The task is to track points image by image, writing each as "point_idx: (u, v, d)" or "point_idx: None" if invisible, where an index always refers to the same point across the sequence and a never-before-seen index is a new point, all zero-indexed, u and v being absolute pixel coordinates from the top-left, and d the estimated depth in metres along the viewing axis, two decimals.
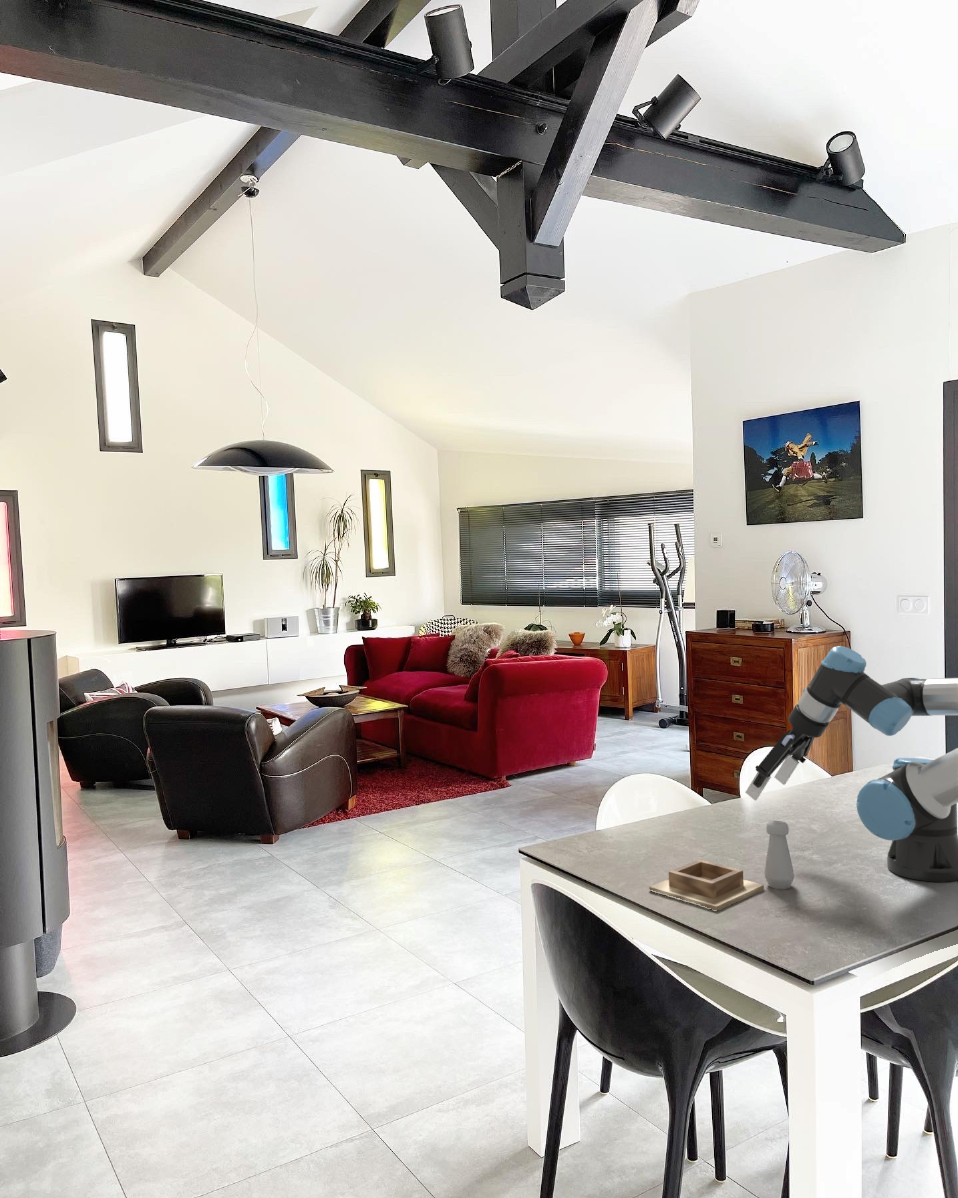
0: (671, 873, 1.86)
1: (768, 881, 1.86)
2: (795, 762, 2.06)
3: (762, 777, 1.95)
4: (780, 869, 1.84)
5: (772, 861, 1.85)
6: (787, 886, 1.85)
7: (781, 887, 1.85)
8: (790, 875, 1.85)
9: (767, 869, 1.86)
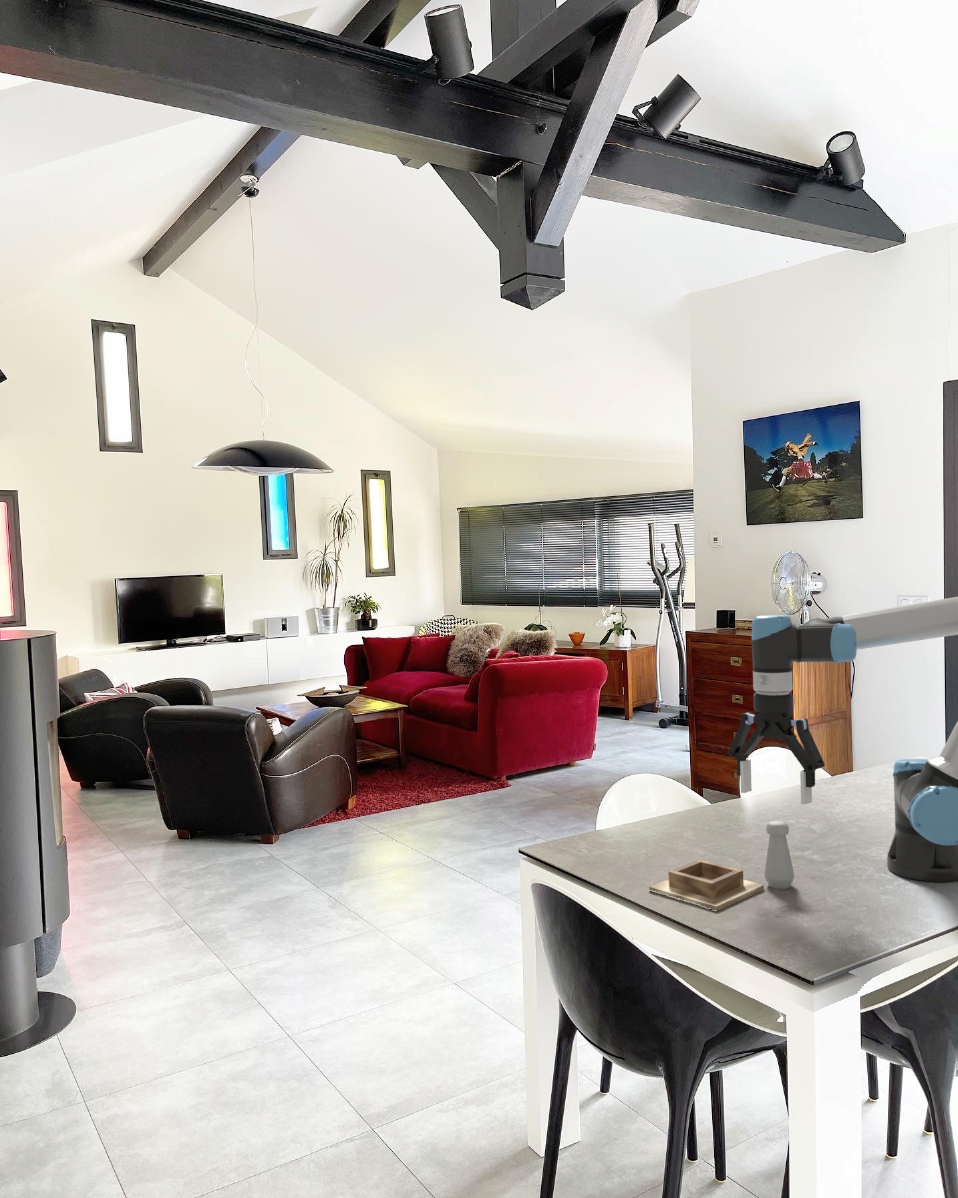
0: (671, 873, 1.86)
1: (768, 881, 1.86)
2: (749, 761, 1.92)
3: (814, 772, 1.80)
4: (780, 869, 1.84)
5: (772, 861, 1.85)
6: (787, 886, 1.85)
7: (781, 887, 1.85)
8: (790, 875, 1.85)
9: (767, 869, 1.86)
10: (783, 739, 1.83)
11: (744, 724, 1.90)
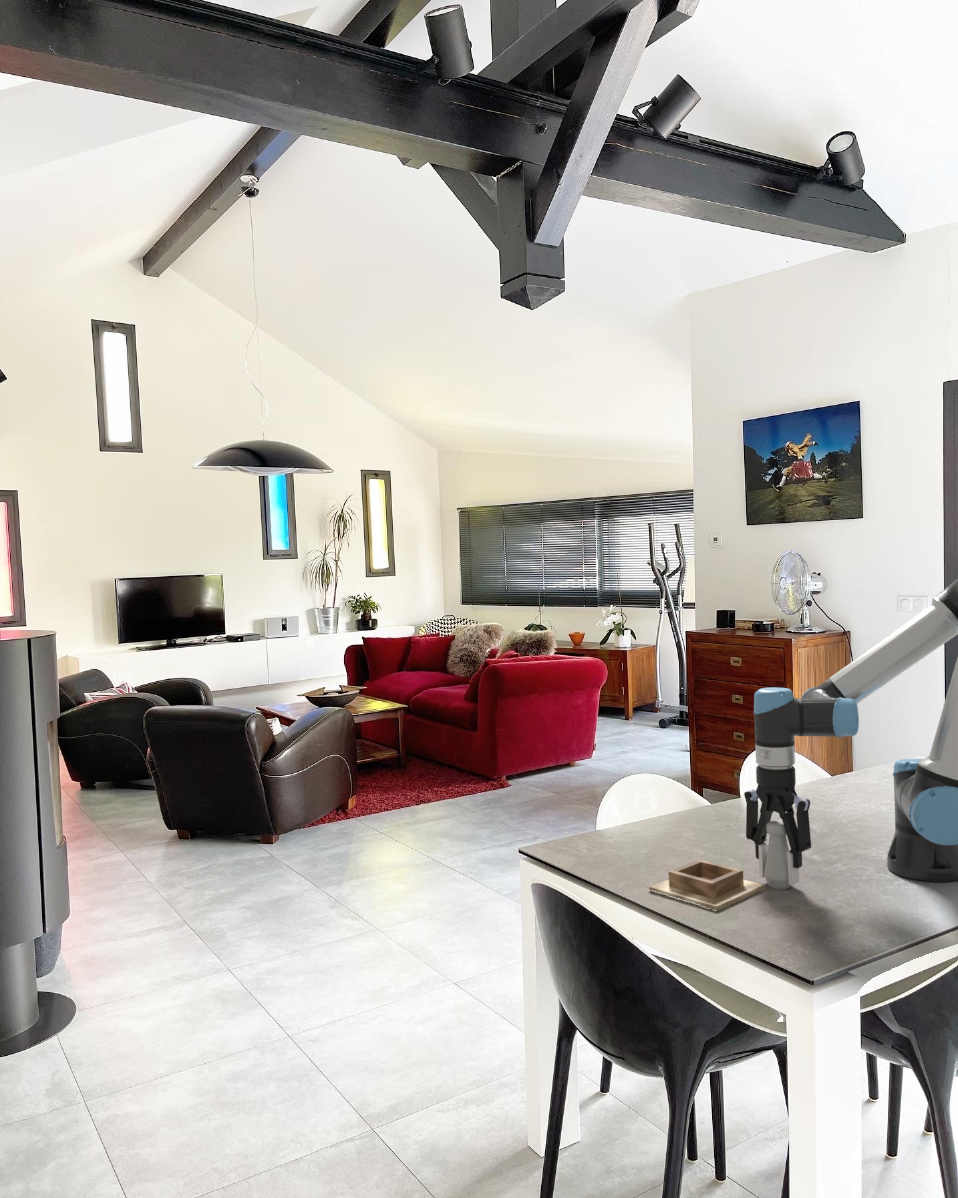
0: (671, 873, 1.86)
1: (768, 881, 1.86)
2: (767, 844, 1.90)
3: (801, 853, 1.83)
4: (780, 869, 1.84)
5: (772, 861, 1.85)
6: (787, 886, 1.85)
7: (781, 887, 1.85)
8: None
9: (767, 869, 1.86)
10: (781, 815, 1.84)
11: (750, 801, 1.90)
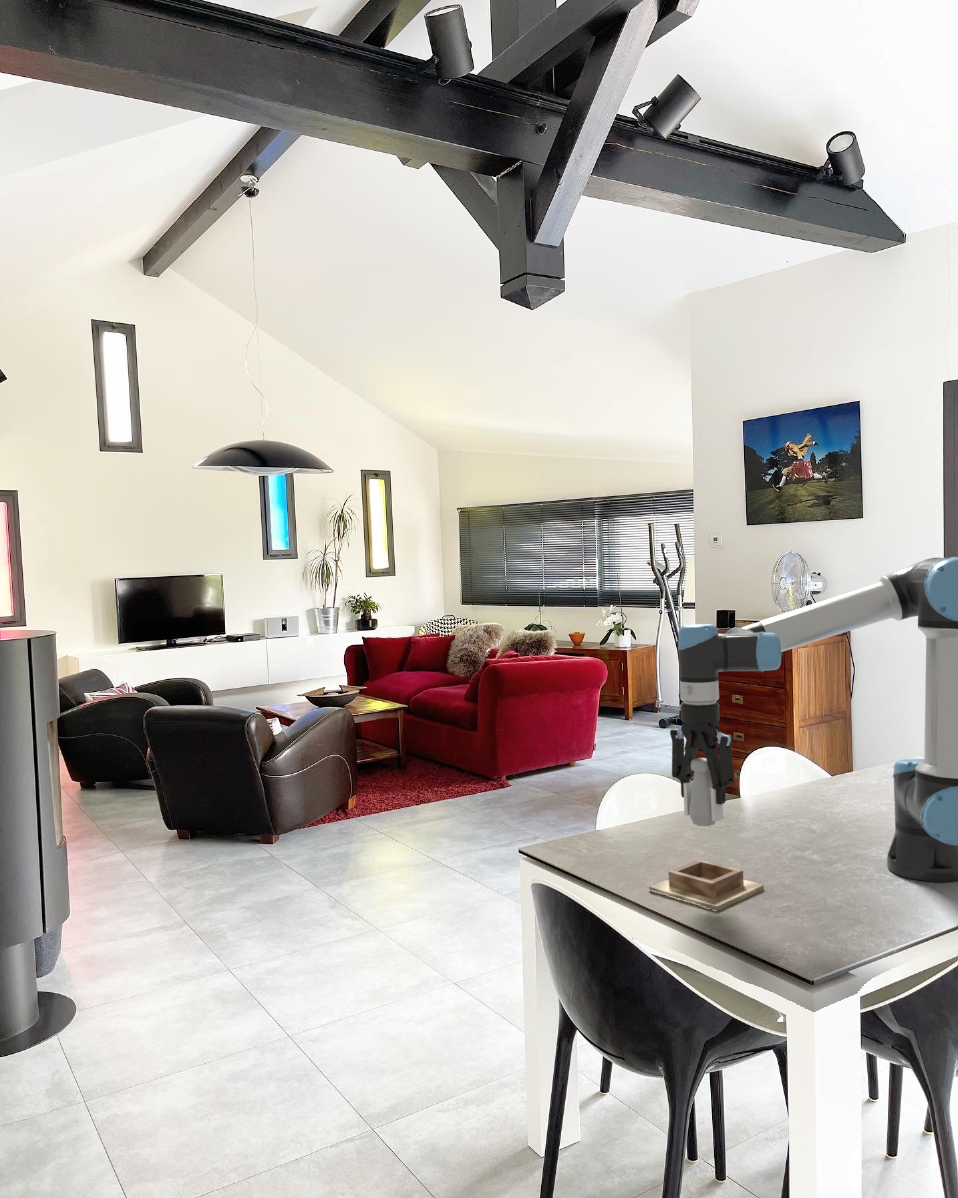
0: (671, 873, 1.86)
1: (692, 818, 1.85)
2: None
3: (724, 789, 1.82)
4: (704, 805, 1.83)
5: (696, 798, 1.84)
6: (711, 823, 1.84)
7: (705, 824, 1.84)
8: None
9: (691, 806, 1.85)
10: (704, 751, 1.83)
11: (675, 739, 1.88)
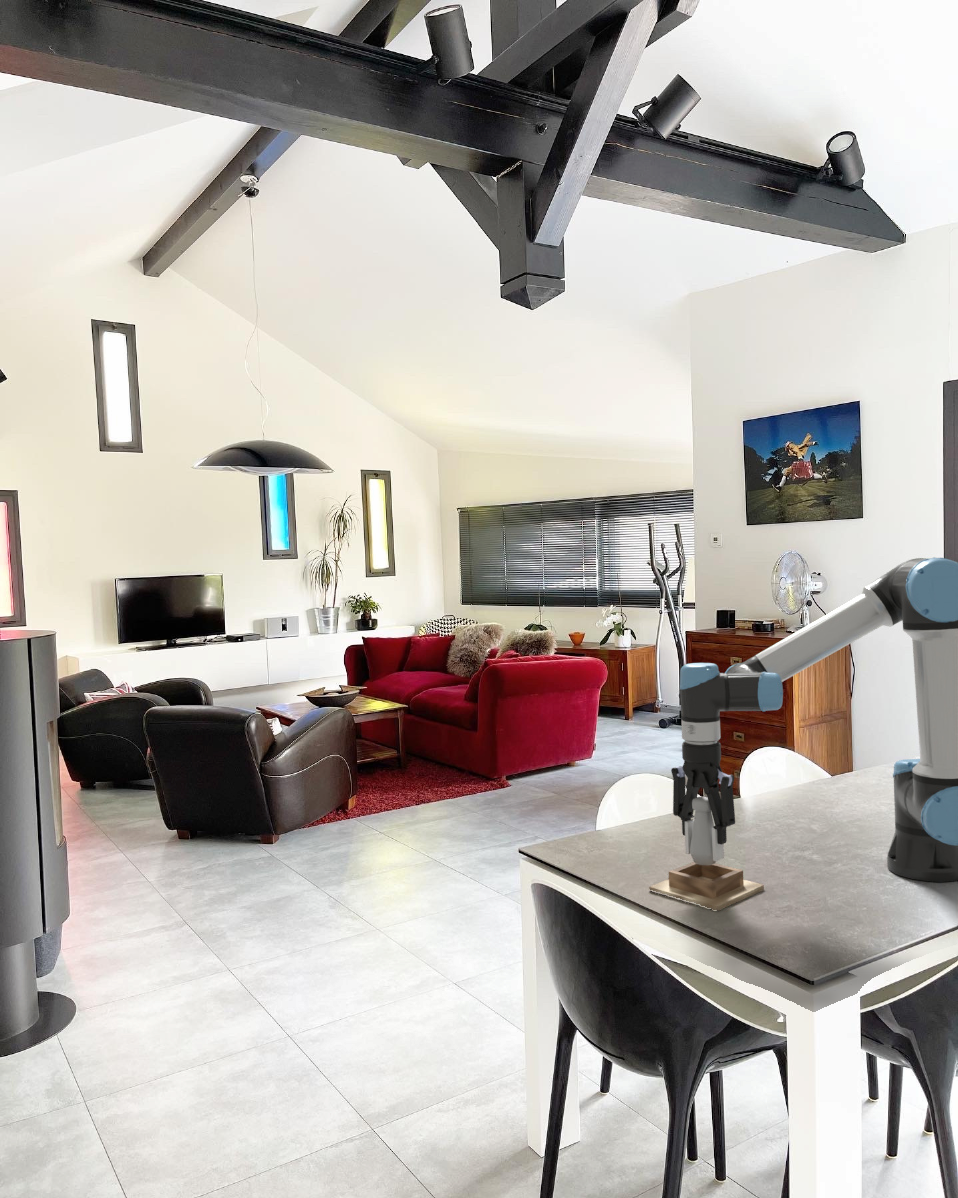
0: (671, 873, 1.86)
1: (693, 857, 1.85)
2: None
3: (725, 829, 1.82)
4: (705, 844, 1.83)
5: (697, 837, 1.84)
6: (712, 862, 1.84)
7: (706, 863, 1.84)
8: None
9: (692, 845, 1.85)
10: (705, 791, 1.83)
11: (677, 778, 1.89)
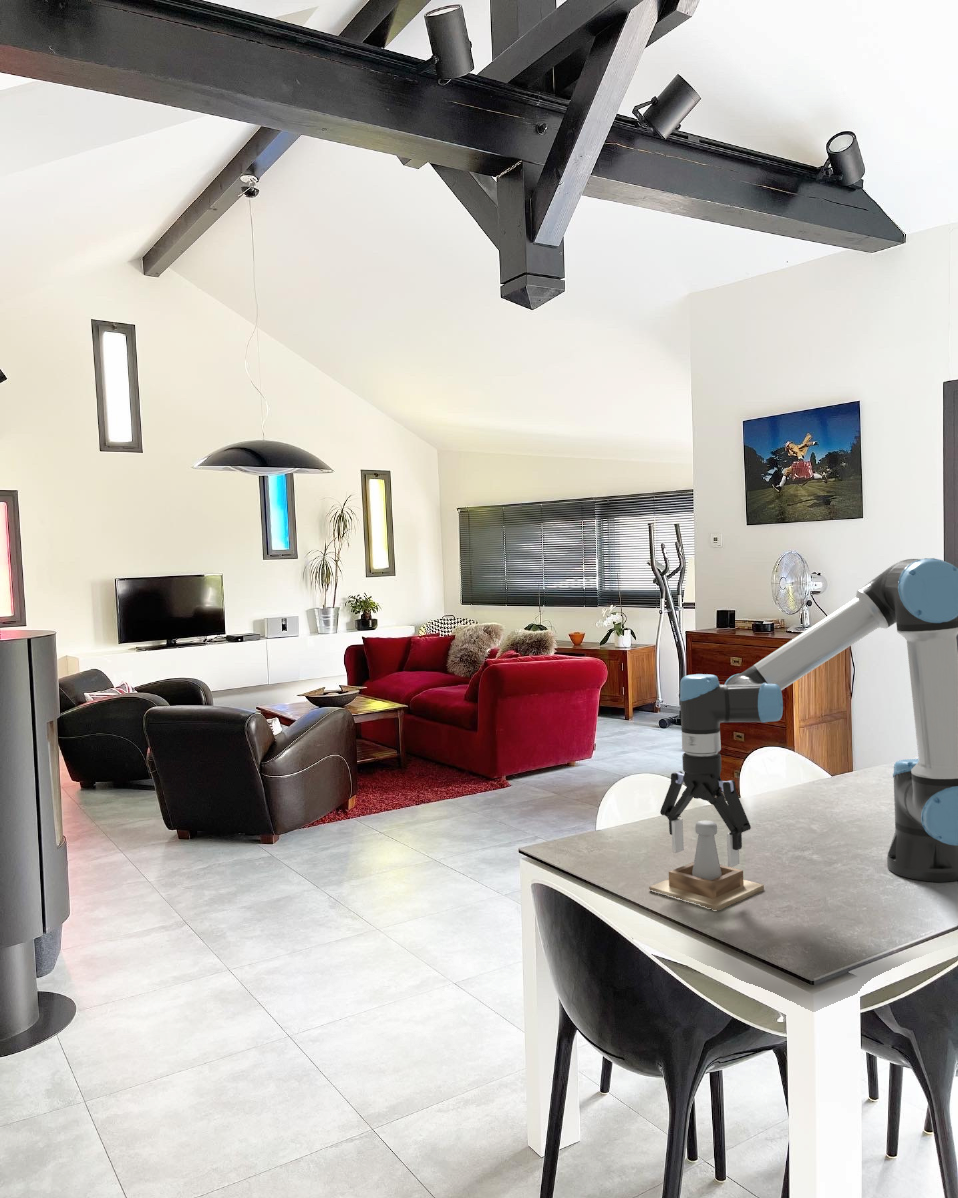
0: (671, 873, 1.86)
1: None
2: (681, 820, 1.91)
3: (740, 835, 1.80)
4: (707, 869, 1.83)
5: (699, 861, 1.84)
6: None
7: None
8: (717, 875, 1.84)
9: (695, 868, 1.85)
10: (711, 800, 1.82)
11: (674, 783, 1.89)
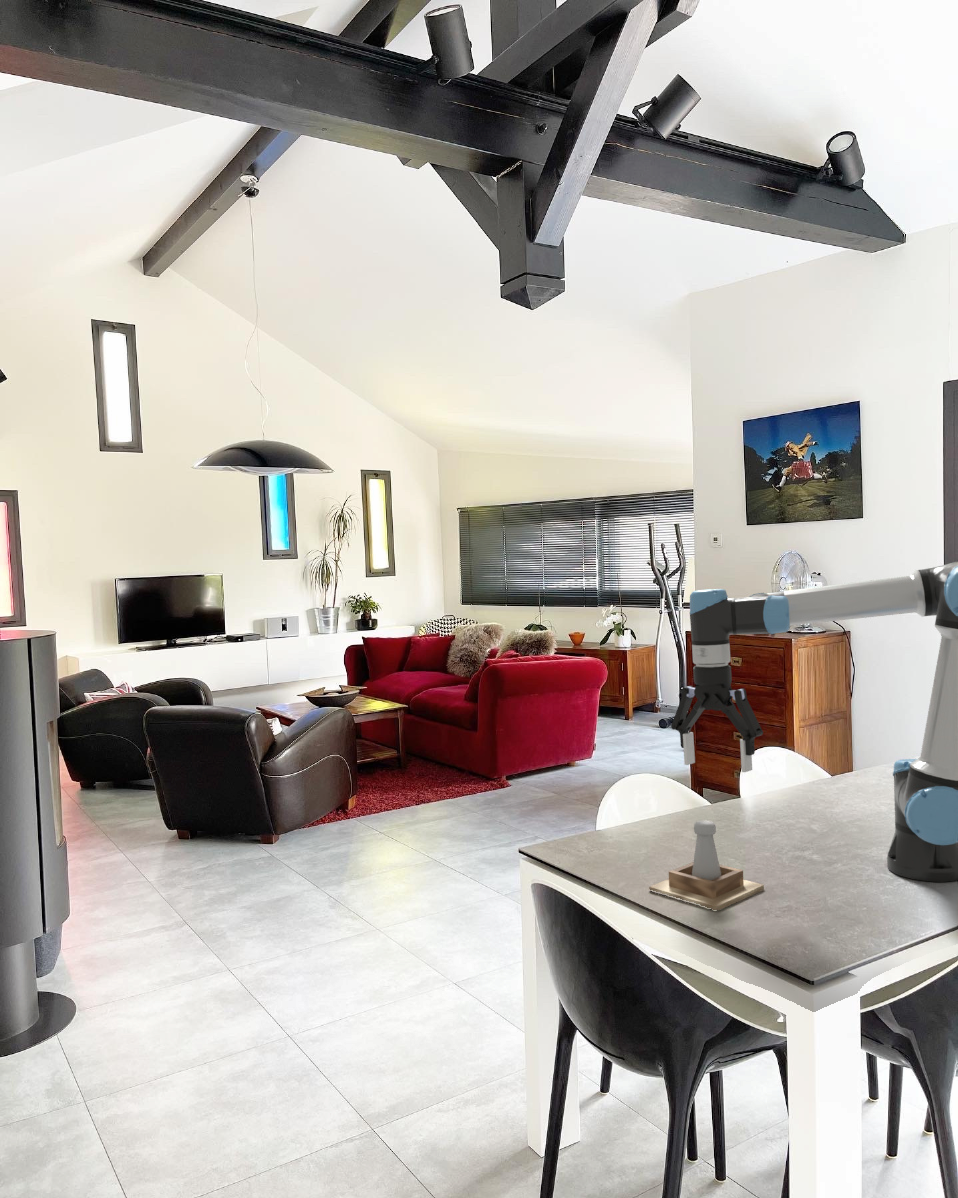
0: (671, 873, 1.86)
1: None
2: (691, 733, 1.96)
3: (753, 740, 1.85)
4: (707, 868, 1.83)
5: (699, 861, 1.84)
6: None
7: None
8: (717, 875, 1.84)
9: (694, 869, 1.85)
10: (723, 709, 1.87)
11: (685, 697, 1.94)
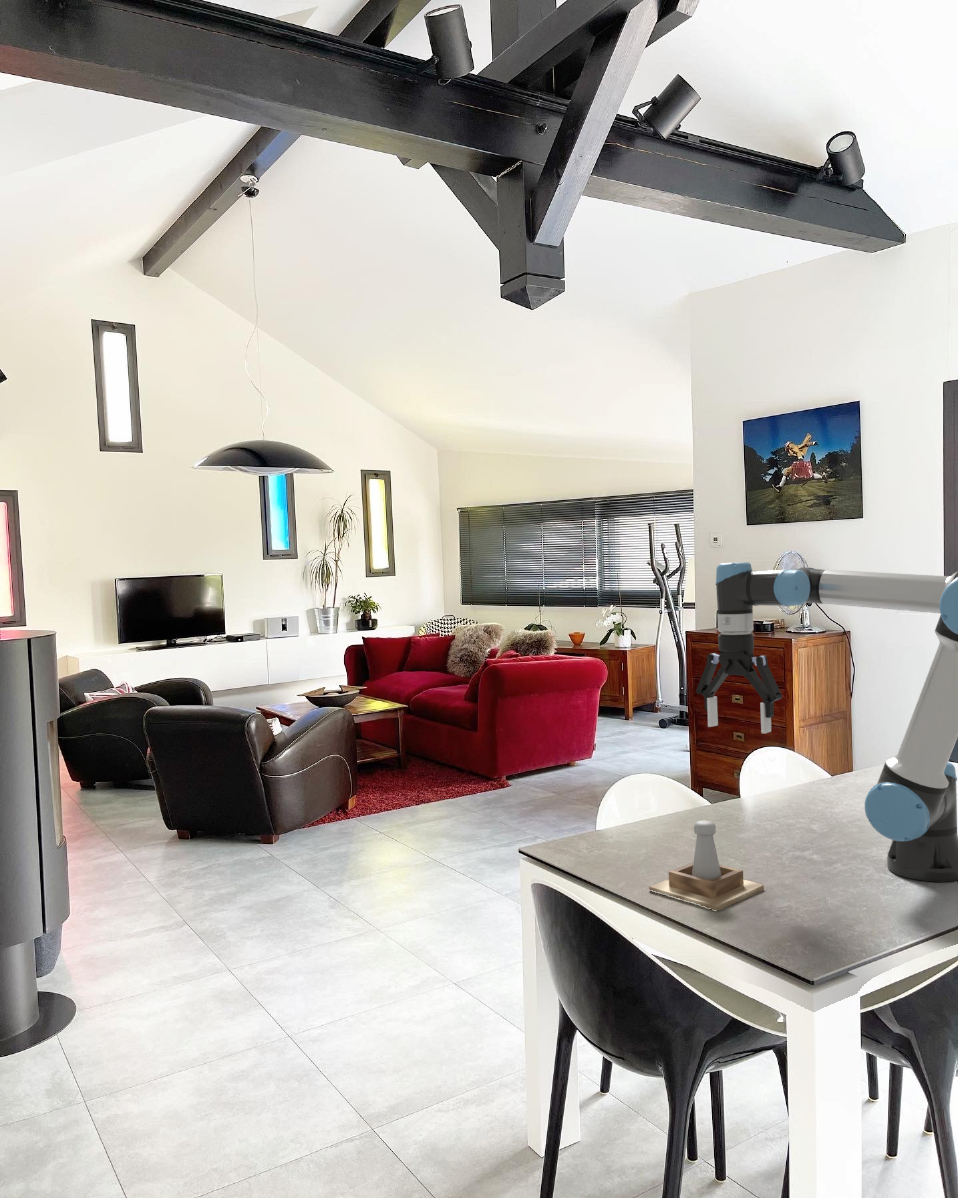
0: (671, 873, 1.86)
1: None
2: (715, 698, 2.09)
3: (772, 704, 1.98)
4: (707, 868, 1.83)
5: (699, 861, 1.84)
6: None
7: None
8: (717, 875, 1.84)
9: (694, 869, 1.85)
10: (745, 675, 2.00)
11: (710, 663, 2.07)
